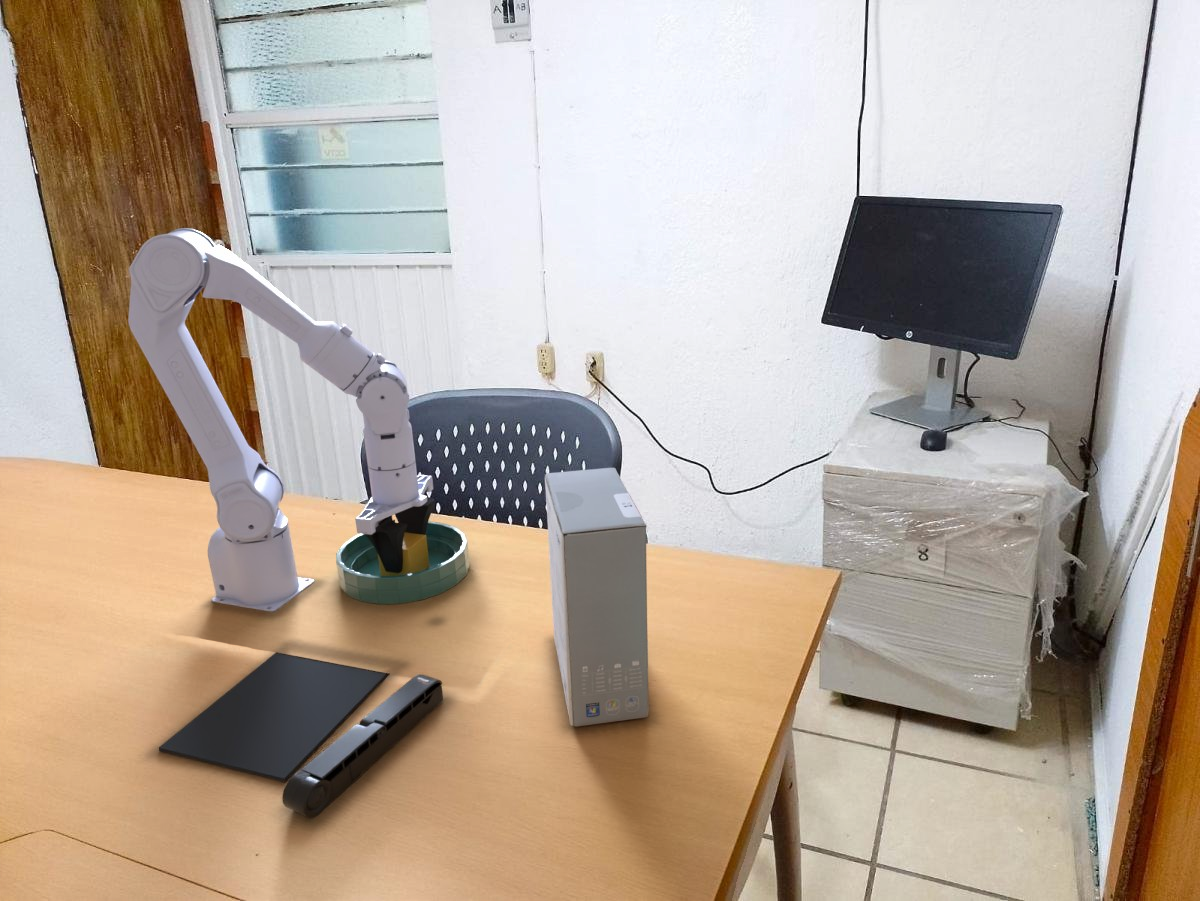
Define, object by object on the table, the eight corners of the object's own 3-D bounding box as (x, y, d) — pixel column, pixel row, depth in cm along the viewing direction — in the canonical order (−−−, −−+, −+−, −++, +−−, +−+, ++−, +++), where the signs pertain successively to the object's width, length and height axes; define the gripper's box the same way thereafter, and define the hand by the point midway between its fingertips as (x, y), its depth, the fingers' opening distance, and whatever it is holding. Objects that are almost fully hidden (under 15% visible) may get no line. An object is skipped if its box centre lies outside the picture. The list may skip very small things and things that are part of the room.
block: (380, 577, 105) (376, 545, 104) (399, 562, 109) (395, 531, 108) (411, 582, 104) (407, 550, 102) (429, 566, 108) (426, 534, 106)
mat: (158, 751, 76) (158, 747, 76) (288, 645, 92) (287, 642, 92) (284, 782, 71) (284, 778, 71) (397, 665, 87) (397, 662, 87)
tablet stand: (307, 825, 67) (301, 796, 66) (284, 815, 68) (278, 785, 67) (446, 701, 81) (443, 675, 80) (425, 694, 83) (422, 668, 82)
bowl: (313, 597, 102) (308, 568, 101) (386, 541, 116) (382, 515, 115) (429, 616, 97) (425, 585, 95) (490, 555, 111) (488, 528, 110)
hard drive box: (651, 719, 78) (648, 526, 71) (570, 731, 76) (559, 535, 70) (620, 632, 92) (615, 464, 85) (552, 640, 91) (541, 471, 84)
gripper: (387, 487, 94) (400, 593, 98) (449, 446, 106) (459, 541, 111) (334, 481, 96) (350, 585, 100) (401, 441, 109) (413, 535, 113)
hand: (404, 562), depth 106 cm, fingers closed on block, 4 cm apart
